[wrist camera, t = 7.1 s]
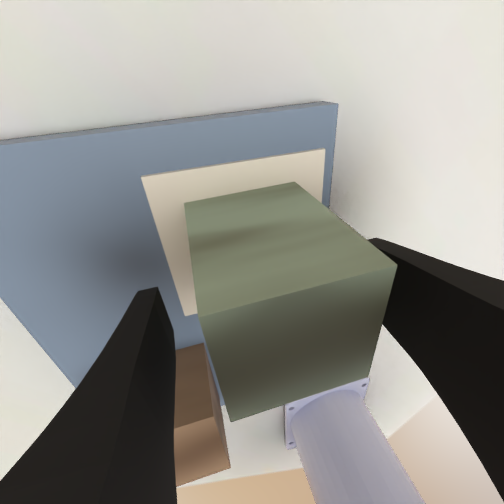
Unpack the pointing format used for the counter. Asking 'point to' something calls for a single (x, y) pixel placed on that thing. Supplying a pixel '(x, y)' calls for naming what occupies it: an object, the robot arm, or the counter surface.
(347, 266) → the sage block
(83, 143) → the board
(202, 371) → the walnut block
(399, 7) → the counter surface
